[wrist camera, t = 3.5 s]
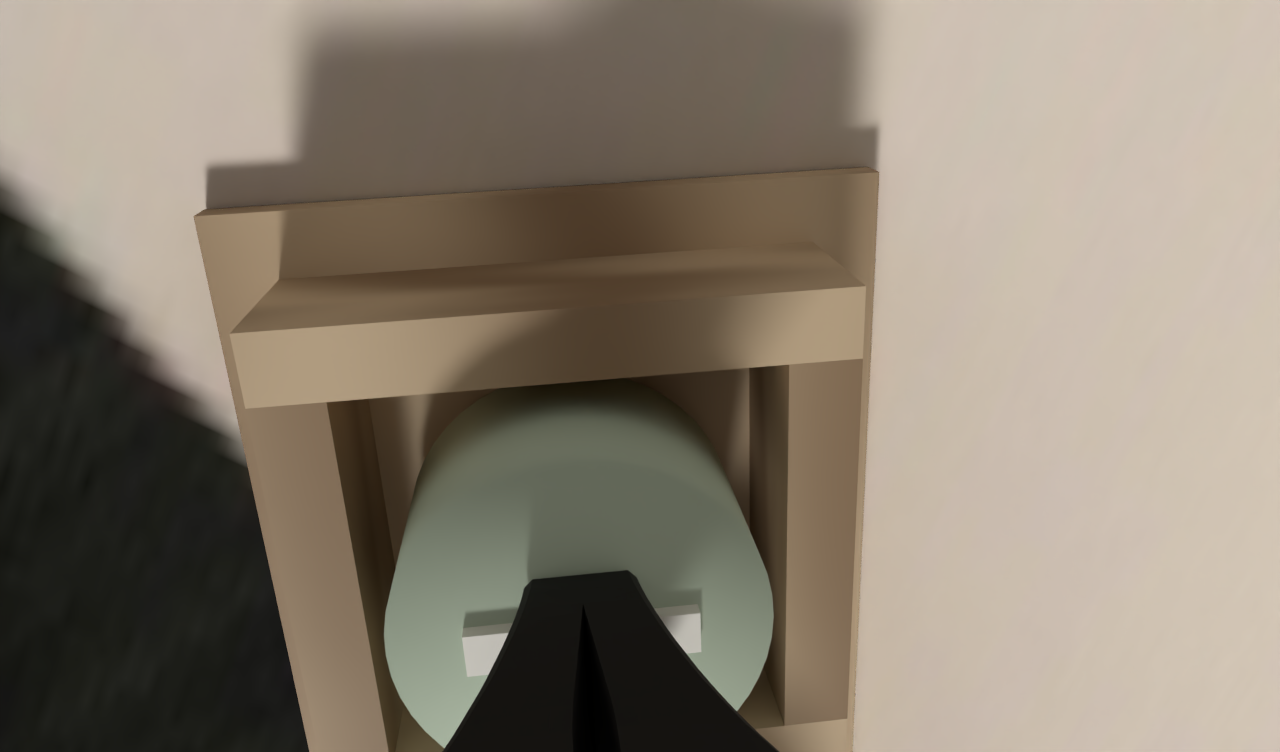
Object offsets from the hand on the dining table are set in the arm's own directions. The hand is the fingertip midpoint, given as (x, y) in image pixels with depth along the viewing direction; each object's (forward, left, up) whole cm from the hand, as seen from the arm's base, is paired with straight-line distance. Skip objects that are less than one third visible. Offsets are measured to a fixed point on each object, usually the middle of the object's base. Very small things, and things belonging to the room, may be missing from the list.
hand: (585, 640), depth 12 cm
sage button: (0, 0, -3) cm, 3 cm away
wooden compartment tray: (0, -8, -4) cm, 9 cm away
